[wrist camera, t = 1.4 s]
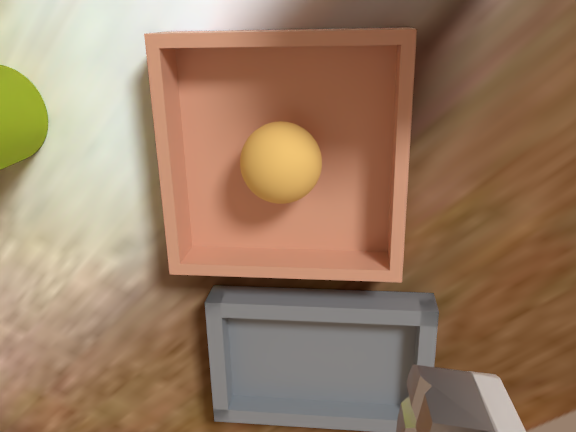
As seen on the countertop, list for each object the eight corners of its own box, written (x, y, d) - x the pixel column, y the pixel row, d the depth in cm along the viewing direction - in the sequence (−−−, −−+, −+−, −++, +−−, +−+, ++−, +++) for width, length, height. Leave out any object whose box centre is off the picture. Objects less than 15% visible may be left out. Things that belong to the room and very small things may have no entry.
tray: (433, 293, 34) (438, 311, 32) (423, 410, 37) (428, 435, 35) (213, 285, 36) (204, 302, 34) (222, 398, 39) (214, 421, 37)
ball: (324, 114, 31) (319, 130, 26) (323, 190, 32) (319, 216, 28) (246, 114, 31) (229, 130, 27) (249, 189, 33) (234, 214, 28)
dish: (410, 27, 29) (416, 29, 26) (397, 258, 34) (401, 282, 31) (164, 31, 31) (144, 33, 28) (185, 252, 35) (169, 274, 32)
